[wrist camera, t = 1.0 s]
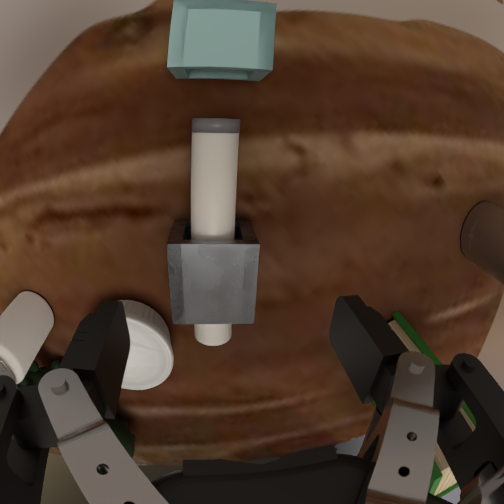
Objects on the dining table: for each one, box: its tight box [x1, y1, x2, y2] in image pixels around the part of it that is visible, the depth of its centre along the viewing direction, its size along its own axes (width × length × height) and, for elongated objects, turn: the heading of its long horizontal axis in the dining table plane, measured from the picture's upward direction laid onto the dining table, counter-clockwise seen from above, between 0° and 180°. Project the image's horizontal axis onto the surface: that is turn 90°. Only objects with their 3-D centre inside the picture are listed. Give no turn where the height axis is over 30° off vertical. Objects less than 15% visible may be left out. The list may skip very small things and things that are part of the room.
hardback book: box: [372, 311, 476, 498], centre depth 32 cm, size 18×7×24 cm, turn 23°
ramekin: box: [118, 300, 174, 390], centre depth 33 cm, size 11×11×5 cm
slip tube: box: [191, 118, 241, 346], centre depth 28 cm, size 4×22×4 cm, turn 177°
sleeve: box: [167, 220, 260, 324], centre depth 29 cm, size 8×8×6 cm
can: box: [0, 291, 54, 384], centre depth 27 cm, size 6×6×12 cm
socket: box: [167, 0, 276, 81], centre depth 21 cm, size 8×6×6 cm
